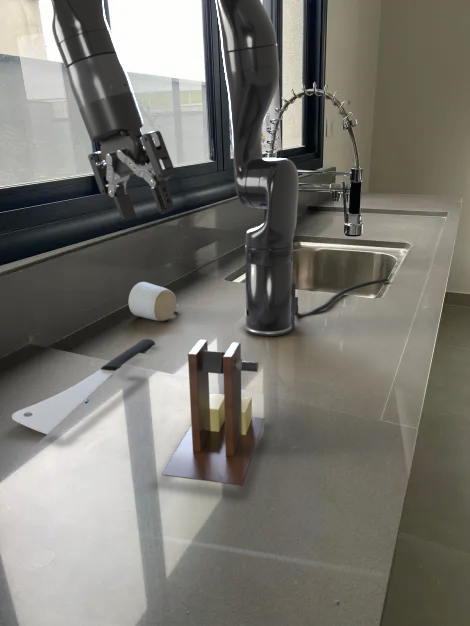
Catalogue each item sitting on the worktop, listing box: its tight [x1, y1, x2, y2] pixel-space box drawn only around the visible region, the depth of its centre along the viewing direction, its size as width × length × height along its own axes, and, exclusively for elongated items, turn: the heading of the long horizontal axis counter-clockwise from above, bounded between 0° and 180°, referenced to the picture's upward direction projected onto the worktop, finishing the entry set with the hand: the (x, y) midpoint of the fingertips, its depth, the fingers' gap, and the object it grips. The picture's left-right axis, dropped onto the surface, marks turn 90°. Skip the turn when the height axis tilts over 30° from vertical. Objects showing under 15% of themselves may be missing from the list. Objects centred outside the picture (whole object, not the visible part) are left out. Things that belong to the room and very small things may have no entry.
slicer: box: [161, 339, 265, 486], centre depth 58 cm, size 14×9×14 cm, turn 167°
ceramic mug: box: [128, 281, 181, 322], centre depth 109 cm, size 11×8×8 cm
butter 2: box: [241, 395, 253, 435], centre depth 63 cm, size 4×2×3 cm, turn 167°
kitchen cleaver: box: [11, 338, 156, 435], centre depth 78 cm, size 31×2×10 cm
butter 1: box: [209, 392, 225, 432], centre depth 64 cm, size 4×2×3 cm, turn 167°
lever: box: [202, 350, 259, 375], centre depth 61 cm, size 13×6×2 cm, turn 167°
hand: (147, 216), depth 71 cm, fingers open, 8 cm apart
